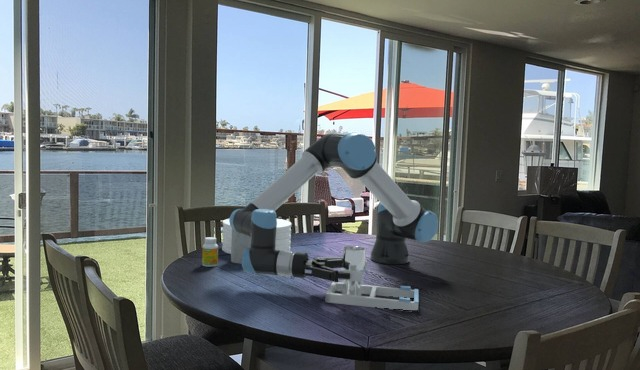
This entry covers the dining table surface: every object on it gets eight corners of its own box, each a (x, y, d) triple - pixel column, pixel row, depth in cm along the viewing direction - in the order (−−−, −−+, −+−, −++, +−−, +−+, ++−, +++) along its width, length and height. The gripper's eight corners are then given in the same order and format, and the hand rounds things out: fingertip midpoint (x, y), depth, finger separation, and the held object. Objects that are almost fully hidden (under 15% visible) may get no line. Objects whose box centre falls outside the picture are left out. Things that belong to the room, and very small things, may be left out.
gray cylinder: (225, 261, 187) (226, 228, 186) (239, 256, 196) (240, 224, 195) (248, 265, 184) (249, 231, 183) (261, 259, 193) (262, 227, 191)
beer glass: (361, 302, 146) (364, 251, 145) (338, 300, 148) (340, 249, 147) (364, 295, 153) (367, 246, 152) (341, 293, 155) (344, 244, 153)
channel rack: (325, 302, 145) (325, 293, 145) (332, 289, 158) (332, 281, 158) (417, 312, 141) (418, 303, 141) (417, 298, 154) (418, 290, 153)
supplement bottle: (201, 267, 178) (202, 239, 177) (202, 263, 183) (203, 236, 182) (217, 267, 179) (218, 239, 178) (217, 263, 184) (218, 236, 183)
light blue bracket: (398, 310, 142) (399, 298, 141) (400, 296, 155) (400, 285, 154) (417, 312, 141) (418, 300, 140) (417, 298, 154) (418, 287, 153)
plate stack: (261, 261, 192) (263, 230, 191) (207, 249, 206) (208, 221, 205) (303, 249, 215) (304, 222, 214) (251, 239, 230) (252, 214, 229)
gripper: (302, 266, 166) (367, 273, 162) (282, 287, 141) (359, 295, 137) (303, 244, 165) (369, 249, 161) (283, 261, 141) (360, 268, 137)
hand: (364, 270), depth 149 cm, fingers open, 12 cm apart
